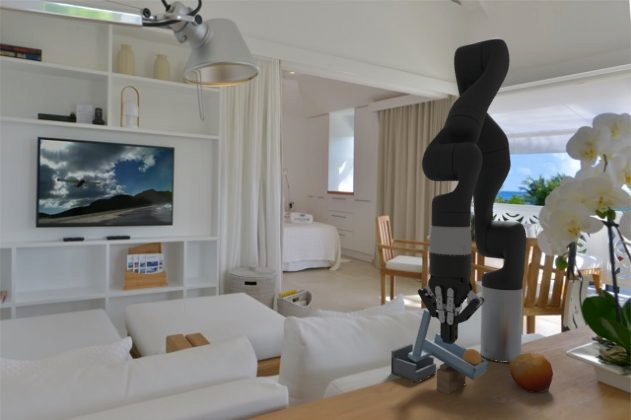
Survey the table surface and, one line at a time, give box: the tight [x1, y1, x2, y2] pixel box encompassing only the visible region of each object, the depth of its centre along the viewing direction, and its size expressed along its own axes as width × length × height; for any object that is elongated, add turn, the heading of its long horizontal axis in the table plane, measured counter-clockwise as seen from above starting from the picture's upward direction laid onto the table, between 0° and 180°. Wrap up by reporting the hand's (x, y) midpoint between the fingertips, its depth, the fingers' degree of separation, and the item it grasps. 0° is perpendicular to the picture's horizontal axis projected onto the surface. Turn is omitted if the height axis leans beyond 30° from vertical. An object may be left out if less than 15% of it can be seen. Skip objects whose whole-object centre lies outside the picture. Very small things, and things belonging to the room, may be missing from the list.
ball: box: [463, 348, 482, 366], centre depth 86 cm, size 4×4×4 cm
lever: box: [408, 308, 490, 381], centre depth 86 cm, size 11×12×10 cm
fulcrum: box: [436, 362, 467, 395], centre depth 89 cm, size 7×3×6 cm, turn 133°
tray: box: [390, 343, 437, 383], centre depth 96 cm, size 7×7×5 cm
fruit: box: [508, 352, 554, 393], centre depth 89 cm, size 8×8×8 cm
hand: (448, 342), depth 82 cm, fingers closed
